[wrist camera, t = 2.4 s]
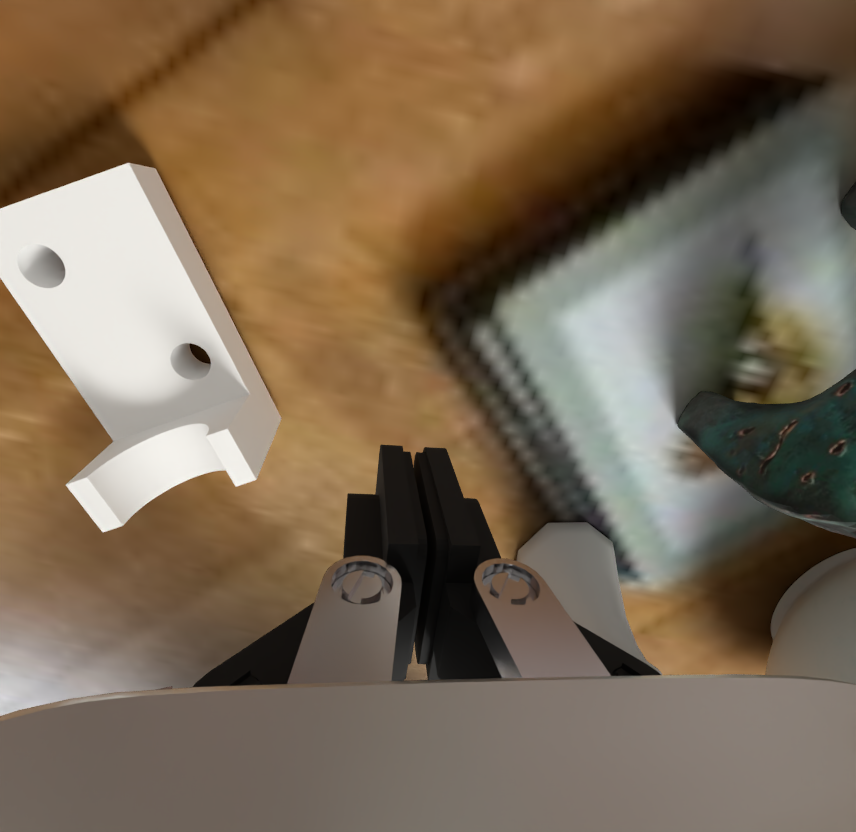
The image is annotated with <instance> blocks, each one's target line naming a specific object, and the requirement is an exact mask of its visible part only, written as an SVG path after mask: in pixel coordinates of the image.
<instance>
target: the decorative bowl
mask: <svg viewBox="0 0 856 832" xmlns="http://www.w3.org/2000/svg"><path fill="white" fill-rule="evenodd" d="M771 635H772V638H773V643H772V646H771V650H770V653H769V657H768V661H767V667H766V675H789V676H806V677H815V678H825V679H832V680H837V681H842V682H847V683H852V684H856V548H853V549H850V550H847V551H843V552H841V553H838V554H836V555H834V556H831V557H829V558H827V559H825V560H824V561H822V562H820V563H818V564H817V565H815V566H814V567H812V568H811V569H809V570H808V571H807V572H805V573H804V574H803V575H802V576H801V577H799V578H798V579H797V580H796V581H795V582H794V583H793V584H792V585H791V586H790V588H789V589H788V590H787V591H786V592H785V594H784V595H783V596H782V598H781V599H780V601H779V603H778V604H777V606H776V608H775V611H774V613H773V616H772V620H771Z"/></svg>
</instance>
